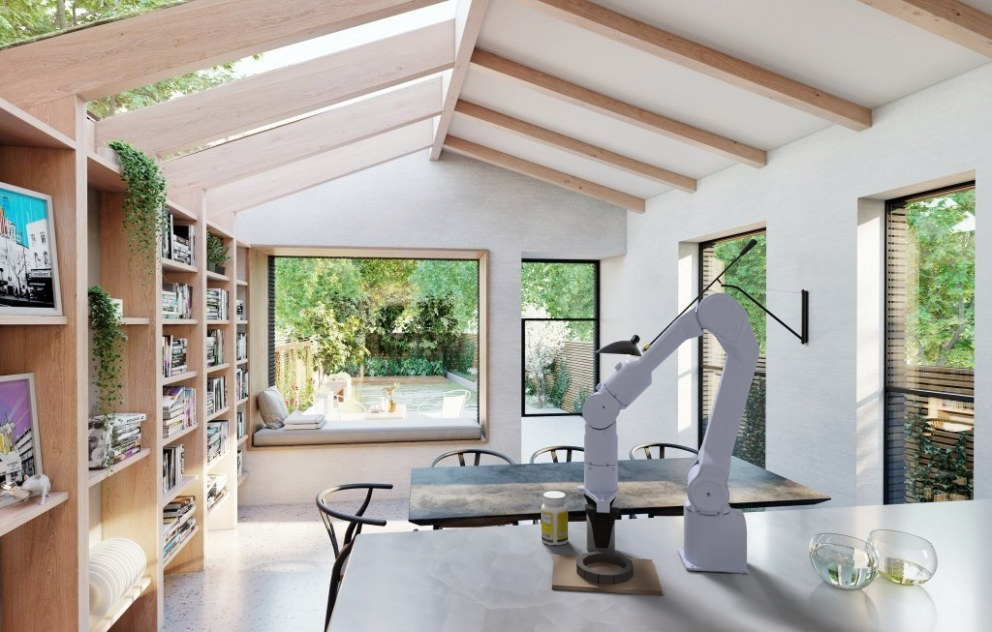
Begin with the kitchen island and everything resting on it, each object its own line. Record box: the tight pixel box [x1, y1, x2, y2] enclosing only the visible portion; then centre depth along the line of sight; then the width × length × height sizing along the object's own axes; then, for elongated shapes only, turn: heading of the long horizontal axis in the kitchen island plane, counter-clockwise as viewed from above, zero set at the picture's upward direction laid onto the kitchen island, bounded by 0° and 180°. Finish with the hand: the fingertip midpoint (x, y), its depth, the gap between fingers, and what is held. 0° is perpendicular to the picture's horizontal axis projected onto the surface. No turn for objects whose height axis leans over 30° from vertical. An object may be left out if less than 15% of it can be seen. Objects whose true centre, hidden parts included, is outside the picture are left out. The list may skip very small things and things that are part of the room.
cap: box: [586, 514, 616, 553], centre depth 102 cm, size 5×5×6 cm
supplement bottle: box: [540, 490, 569, 546], centre depth 106 cm, size 5×5×8 cm
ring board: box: [551, 551, 664, 596], centre depth 92 cm, size 16×11×2 cm
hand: (600, 540), depth 102 cm, fingers open, 5 cm apart
